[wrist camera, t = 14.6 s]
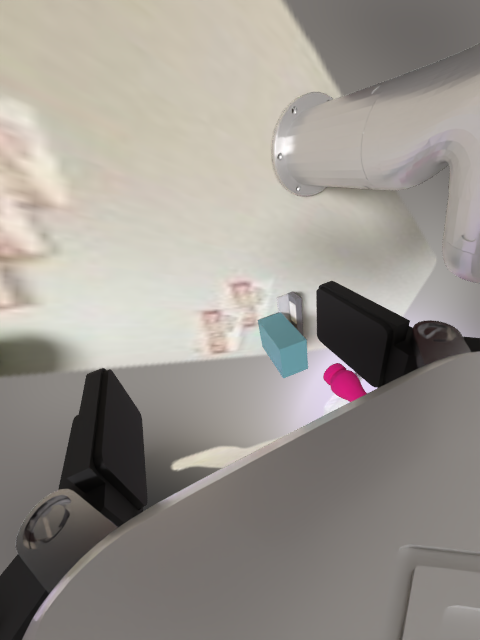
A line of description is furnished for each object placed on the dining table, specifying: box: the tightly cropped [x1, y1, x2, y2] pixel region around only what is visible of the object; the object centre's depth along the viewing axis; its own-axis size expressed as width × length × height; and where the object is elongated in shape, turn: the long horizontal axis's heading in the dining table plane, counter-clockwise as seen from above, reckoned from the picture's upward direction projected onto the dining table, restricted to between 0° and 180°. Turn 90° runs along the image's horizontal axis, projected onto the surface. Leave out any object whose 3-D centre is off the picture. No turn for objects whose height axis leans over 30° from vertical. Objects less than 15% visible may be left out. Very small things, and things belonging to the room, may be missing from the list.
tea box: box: [258, 312, 308, 378], centre depth 48 cm, size 5×7×10 cm
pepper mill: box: [324, 363, 367, 402], centre depth 60 cm, size 7×7×20 cm
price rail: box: [277, 292, 303, 336], centre depth 52 cm, size 4×14×3 cm, turn 12°
